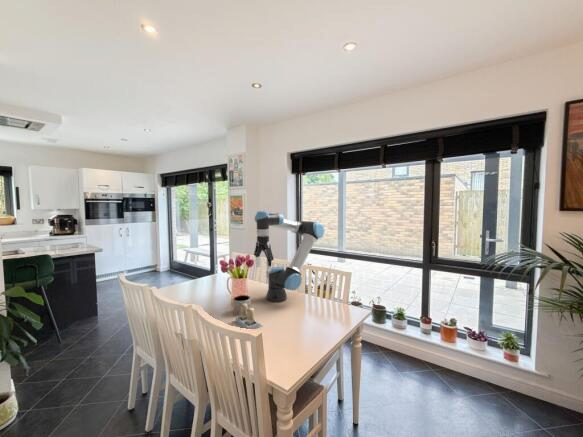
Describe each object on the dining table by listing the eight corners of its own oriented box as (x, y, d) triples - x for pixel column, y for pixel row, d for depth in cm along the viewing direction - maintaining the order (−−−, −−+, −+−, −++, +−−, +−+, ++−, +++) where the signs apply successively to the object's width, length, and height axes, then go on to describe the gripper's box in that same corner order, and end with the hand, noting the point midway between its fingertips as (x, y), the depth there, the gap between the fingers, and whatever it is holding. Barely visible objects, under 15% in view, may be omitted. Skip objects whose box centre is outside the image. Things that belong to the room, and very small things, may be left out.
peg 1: (245, 319, 155) (245, 302, 154) (248, 321, 152) (248, 305, 151) (239, 321, 152) (239, 304, 152) (242, 323, 149) (242, 306, 149)
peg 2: (252, 324, 148) (251, 307, 148) (255, 326, 145) (255, 309, 144) (245, 326, 146) (245, 309, 145) (249, 329, 143) (248, 311, 142)
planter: (254, 311, 168) (253, 296, 167) (242, 317, 158) (242, 302, 158) (241, 307, 173) (241, 293, 173) (229, 313, 164) (229, 299, 163)
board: (250, 317, 159) (250, 312, 159) (263, 327, 146) (263, 322, 146) (232, 322, 152) (231, 318, 151) (244, 333, 139) (244, 328, 139)
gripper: (248, 234, 170) (249, 266, 171) (268, 238, 150) (268, 274, 151) (258, 233, 174) (258, 264, 175) (278, 237, 154) (279, 272, 155)
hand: (263, 269), depth 163 cm, fingers open, 13 cm apart
